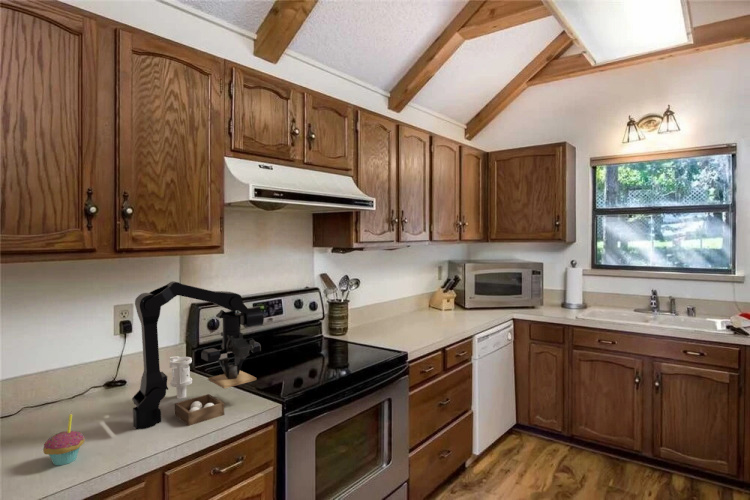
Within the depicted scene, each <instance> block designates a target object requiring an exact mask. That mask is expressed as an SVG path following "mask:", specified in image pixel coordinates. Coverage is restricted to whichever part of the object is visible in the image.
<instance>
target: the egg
mask: <svg viewBox="0 0 750 500" xmlns="http://www.w3.org/2000/svg"><path fill="white" fill-rule="evenodd" d="M193 407H198V408H199V409H202V407H203V406H202V403H201V402H199V401H195V402H193V403H192V404H191V406H190V409H191V408H193Z"/></svg>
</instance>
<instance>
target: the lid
mask: <svg viewBox="0 0 750 500" xmlns="http://www.w3.org/2000/svg"><path fill="white" fill-rule="evenodd" d="M228 368H229V377H228V378H227V377H226V376H225V374H224V373H223V374H219V375H218V374H217V375H214V376H211V377H208V381H209V382H211V383H213V384H214V385H217V386H218V387H220V388H222V389H228V388H231V387H235V386H239V385H243V384H246V383H251V382H254V381H257V377H255V376H254V375H251V374H250V373H247V372H245V371H243V370H240V372H239V375H237V365H235V364H228Z"/></svg>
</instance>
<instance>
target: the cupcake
mask: <svg viewBox="0 0 750 500" xmlns="http://www.w3.org/2000/svg"><path fill="white" fill-rule="evenodd" d="M72 413H73V410H72V411H70V414H69V415H68V422H67V423H68V424H67V430H66V431H60V432H59V433H56V434H55V435H53V436H51V437H49V438H48V439H47V440H46V441H45V443H44V444H43V449H42V450H43V453H44V455H48V456H49V457H50V459H51V462H52V464H53V465H55V466H64V465H68V464H70V463H73V462H74V461H75V460H76V459H77V457H78V453H79V452H80V451H79V450H80V448H81V446H82V445H84V444H85V435H84V434H83V433H81V432H80V431H77V430H72V420H73V414H72Z"/></svg>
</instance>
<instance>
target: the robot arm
mask: <svg viewBox="0 0 750 500" xmlns="http://www.w3.org/2000/svg"><path fill="white" fill-rule="evenodd" d="M178 296H180V297H185V298H189V299H195V300H199V301H203V302H208V303H213V304H214V305H217V306H219V307H221V308H224V309H227V310H230V311H225V310H223V309H220V311H218V313H217V314H216V315H215V317H216V318H218V319H222V332H220V336H221V337H222V344H221V345H220V349H217V348H214V347H212V348H208V349H207V348H206V349H203V350H202V351H201V353H200V355H201V356H200V357H201V359H202V360H204V361H206V362H209V363H210V362H215V361H217V362H218V364H219V365H220V367H221V369H222V371H223V374H225V376H226V377H227V378H228V377H229V368H228V365H229V361H230V358H229V357H228V355H230V354H233V355H234V365H237V375H239V372H240V371H241V370H242V365H243V363H244V361H245V359H246V358H247V357H249V356H250V355H251V354H250V351H251V352H252V353H257V352H261V351H262V346H261V343H260V342H258V341H255V339H254V338H252V337H251V338H247V339H246V338H245V339H244V334H243V332H241V331H242V329H241V326H242V327H243V328H246V329H248V328H254V327H261V326H263V325H264V320H265V319H264V318H265V316H264V314H263V312H262V310H261V309H262V308H261V306H259V305H258V306H257V305H256V306H253V307H247V306H246V304H245V303H244V300H243V297H242V296H241V294H239V293H236V292H232V291H227V290H226V291H224V290H209V289H205V288H200V287H196V286H193V285H188V284H185V283H181V282H178V281H173V280H172V281H170V282H168V283H167V284H165V285H162V286H161V287H160V286H159V287H158V288H156V289H154V290H151V291H150V292H143V293H140V294H138V296H137V297H136V298H135V301H134V306H135V309H136V313H137V317H138V319H139V322H140V325H141V338H142V341H141V342H142V356H143V373H142V376H141V379H140V380H141V381H140V388H139V390H138V391H137V392H136V393H135V394H134V396H132V398H131V400H132V402H133V404H134V405H135V407H132V418H133V419H132V424H133V428H134V429H135V430H145V429H149V428H152V427H155V426H156V425H158V424H160V423H161V422H162V409H161V408H160V403H161V402H162V400H163V399H164V398H165V397H166V394H167V391H168V390H169V387H168V375H167V374H166V373H164V372H163V371H161V369H160V368H161V367H160V354H159V353H160V351H159V334H158V322H159V319H160V315H161V310H162V309H161V308H162V307H163V306H164V305H166V304H168V303H169V302H170V301H171V300H174V298H175V297H178Z"/></svg>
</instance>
